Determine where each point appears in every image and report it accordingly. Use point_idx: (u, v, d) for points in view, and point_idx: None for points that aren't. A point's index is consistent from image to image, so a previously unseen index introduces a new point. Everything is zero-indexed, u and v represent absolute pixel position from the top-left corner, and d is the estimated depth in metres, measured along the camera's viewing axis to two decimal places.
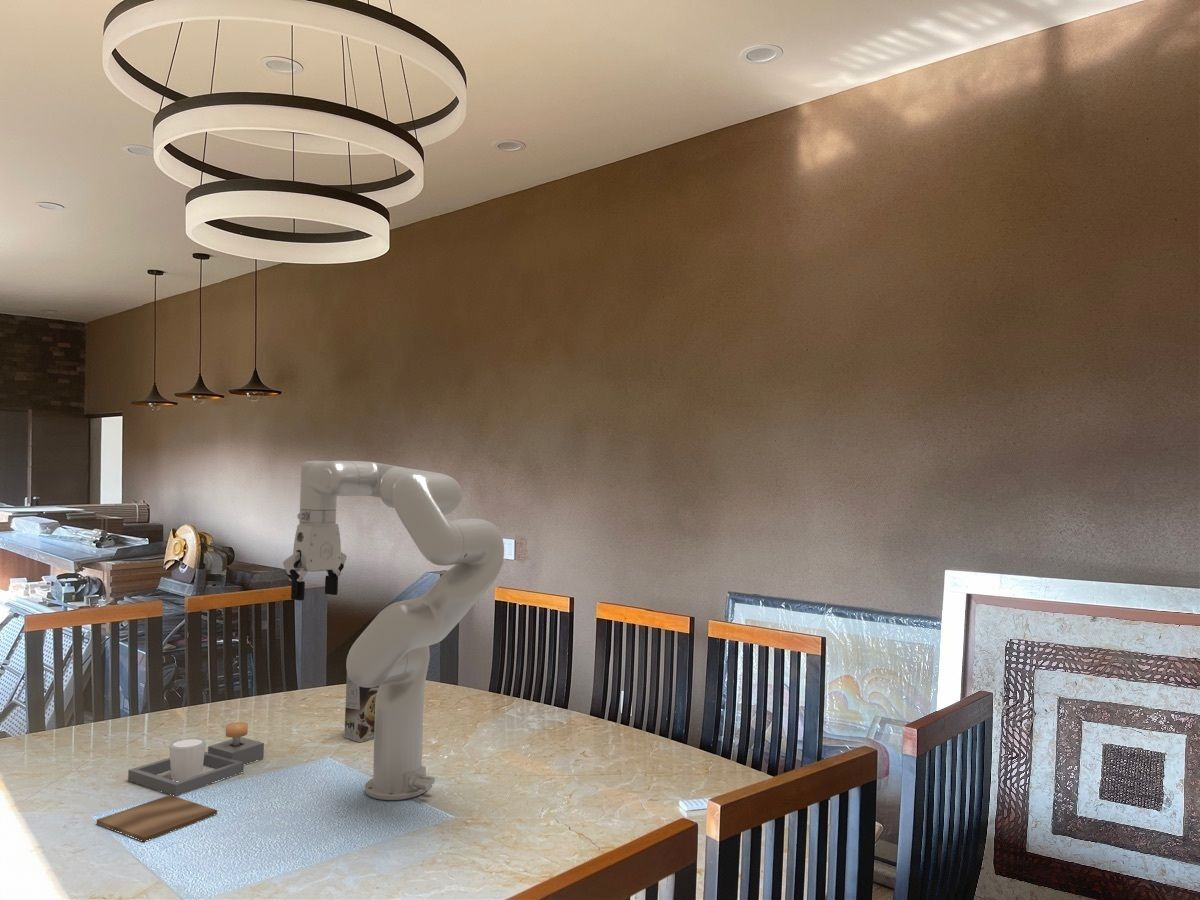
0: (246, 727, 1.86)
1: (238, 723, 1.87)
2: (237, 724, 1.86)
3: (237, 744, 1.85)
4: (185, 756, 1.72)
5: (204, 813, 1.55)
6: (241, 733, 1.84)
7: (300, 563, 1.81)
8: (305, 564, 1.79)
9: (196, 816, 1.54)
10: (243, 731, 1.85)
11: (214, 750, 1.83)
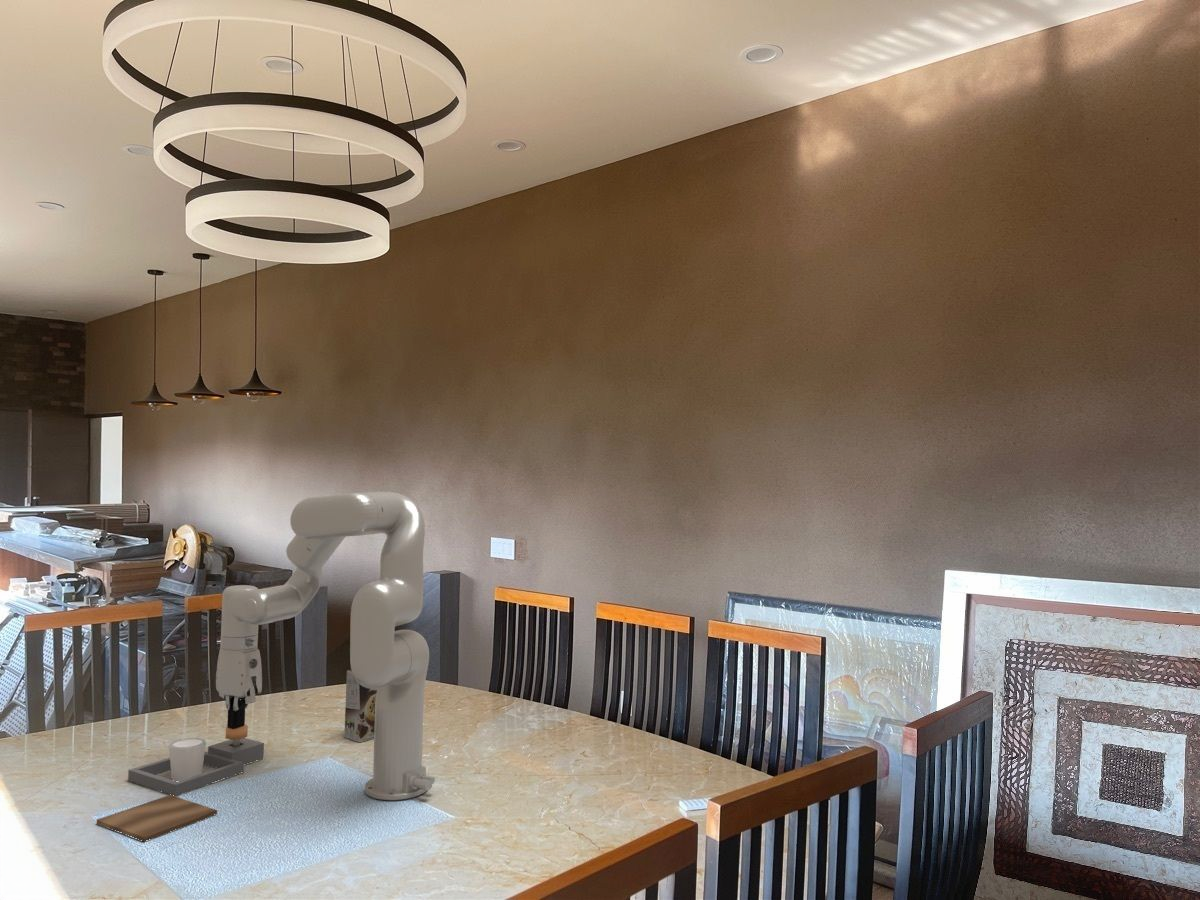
0: (246, 729, 1.86)
1: None
2: None
3: None
4: (185, 756, 1.72)
5: (204, 813, 1.55)
6: (241, 735, 1.84)
7: None
8: (260, 687, 1.85)
9: (196, 816, 1.54)
10: (243, 733, 1.85)
11: (214, 750, 1.83)
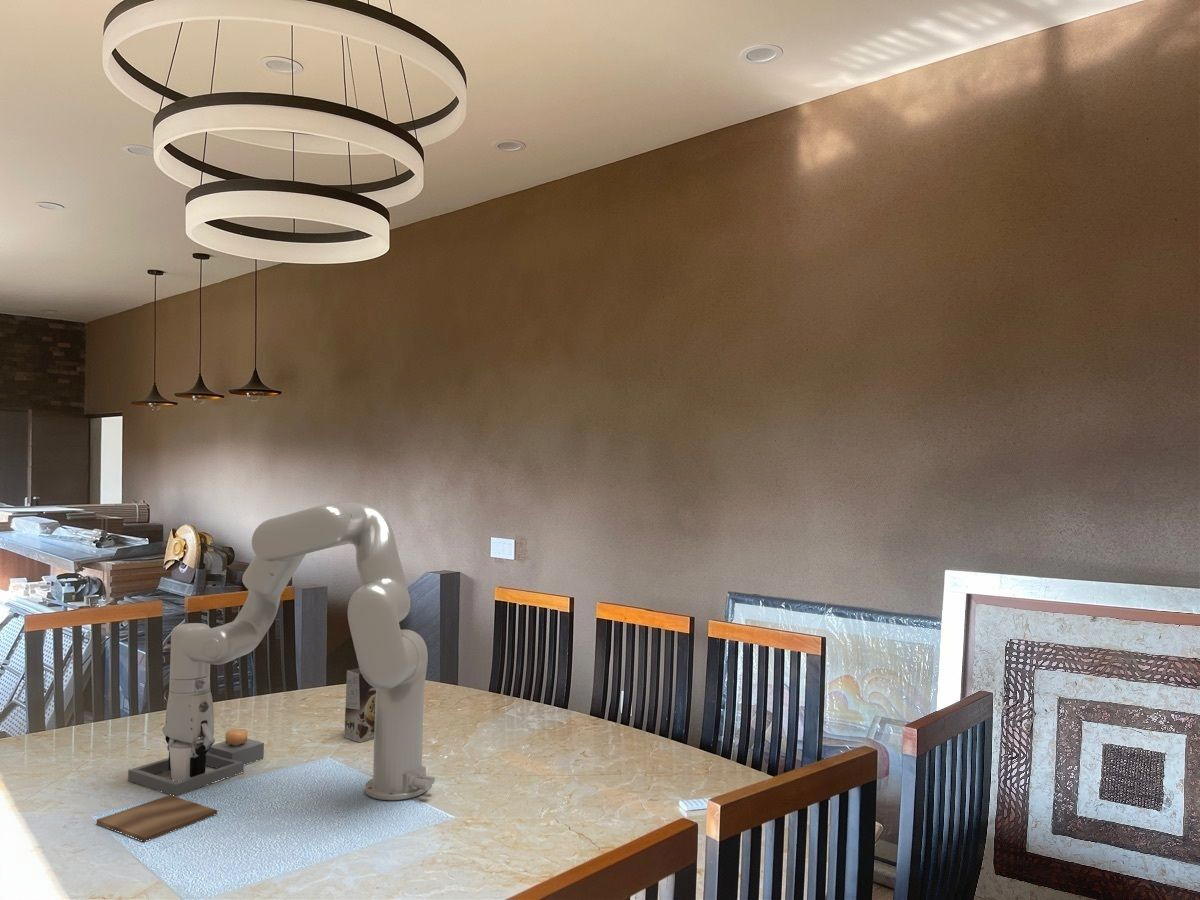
0: (246, 734, 1.86)
1: (238, 730, 1.87)
2: (237, 731, 1.86)
3: None
4: (185, 755, 1.72)
5: (204, 813, 1.55)
6: (241, 740, 1.84)
7: None
8: (212, 732, 1.75)
9: (196, 816, 1.54)
10: (243, 738, 1.85)
11: (214, 750, 1.83)
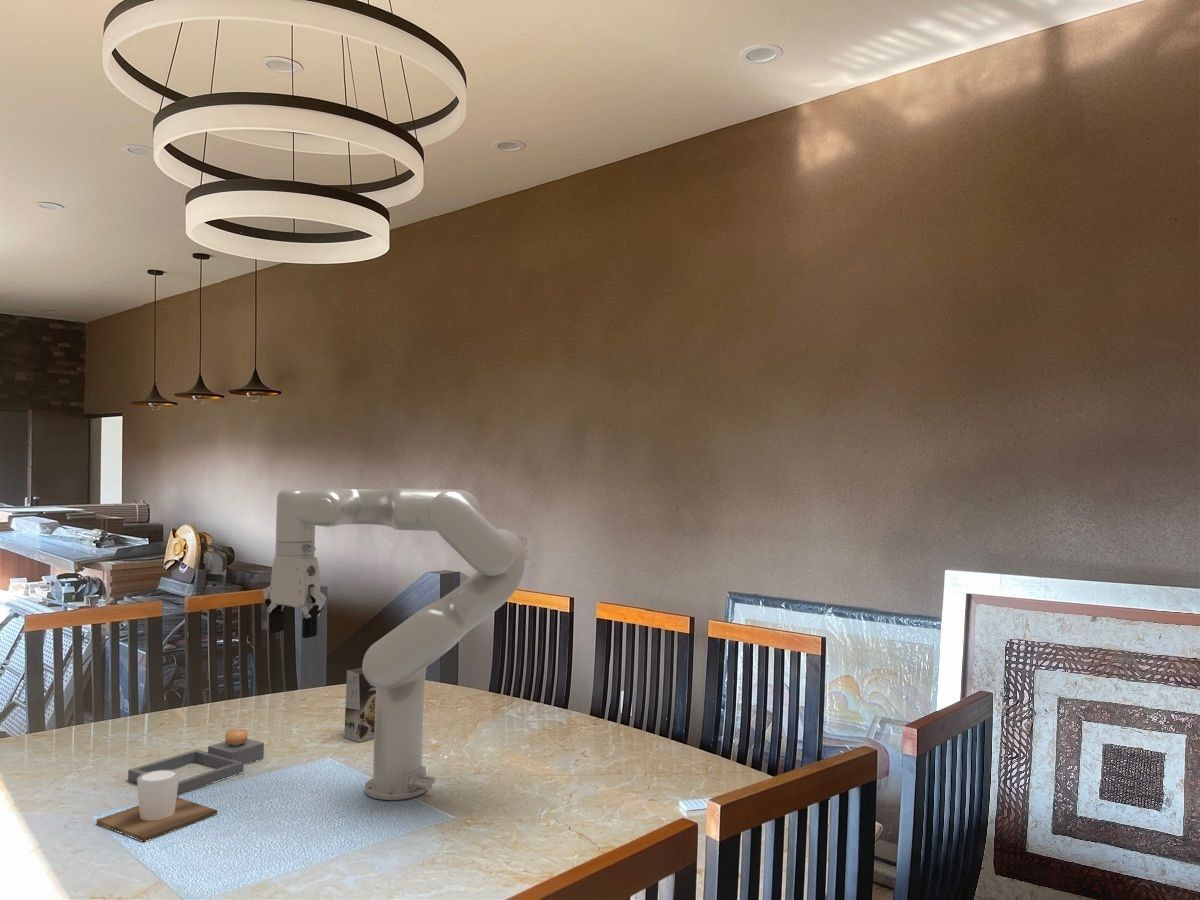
0: (246, 734, 1.86)
1: (238, 730, 1.87)
2: (237, 731, 1.86)
3: None
4: (155, 791, 1.51)
5: (204, 813, 1.55)
6: (241, 740, 1.84)
7: None
8: None
9: (196, 816, 1.54)
10: (243, 738, 1.85)
11: (214, 750, 1.83)
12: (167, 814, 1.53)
